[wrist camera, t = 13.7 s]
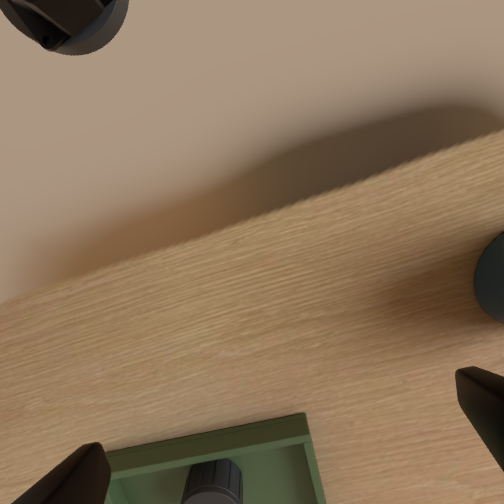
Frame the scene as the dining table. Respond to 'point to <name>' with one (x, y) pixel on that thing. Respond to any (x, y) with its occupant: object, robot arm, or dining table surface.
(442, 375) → the dining table surface
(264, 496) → the tray
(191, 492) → the flask cap
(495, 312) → the flask
